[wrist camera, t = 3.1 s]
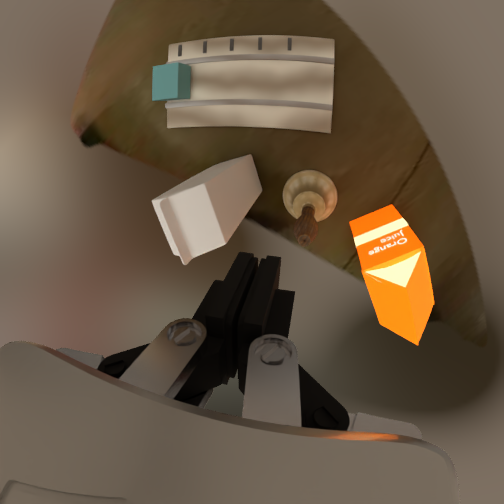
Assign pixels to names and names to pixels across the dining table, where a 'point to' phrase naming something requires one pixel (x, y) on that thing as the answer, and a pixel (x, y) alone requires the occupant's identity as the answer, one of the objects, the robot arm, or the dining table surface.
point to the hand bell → (309, 202)
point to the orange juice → (394, 271)
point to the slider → (171, 82)
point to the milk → (208, 207)
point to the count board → (256, 82)
